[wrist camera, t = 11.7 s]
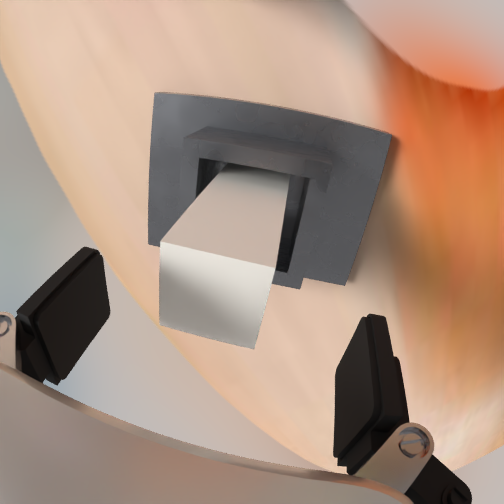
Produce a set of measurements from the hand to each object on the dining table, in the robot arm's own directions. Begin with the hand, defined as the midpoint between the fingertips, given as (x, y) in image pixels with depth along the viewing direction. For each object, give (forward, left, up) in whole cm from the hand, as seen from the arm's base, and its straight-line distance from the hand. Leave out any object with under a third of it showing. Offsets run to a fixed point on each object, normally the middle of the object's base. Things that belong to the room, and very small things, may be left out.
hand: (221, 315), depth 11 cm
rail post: (+1, 0, -13) cm, 13 cm away
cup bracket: (+1, 0, -14) cm, 14 cm away
